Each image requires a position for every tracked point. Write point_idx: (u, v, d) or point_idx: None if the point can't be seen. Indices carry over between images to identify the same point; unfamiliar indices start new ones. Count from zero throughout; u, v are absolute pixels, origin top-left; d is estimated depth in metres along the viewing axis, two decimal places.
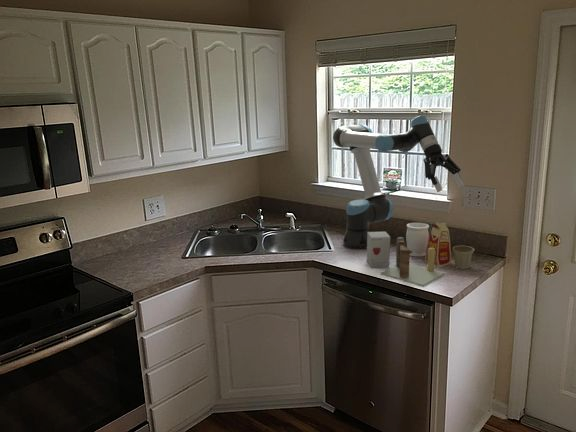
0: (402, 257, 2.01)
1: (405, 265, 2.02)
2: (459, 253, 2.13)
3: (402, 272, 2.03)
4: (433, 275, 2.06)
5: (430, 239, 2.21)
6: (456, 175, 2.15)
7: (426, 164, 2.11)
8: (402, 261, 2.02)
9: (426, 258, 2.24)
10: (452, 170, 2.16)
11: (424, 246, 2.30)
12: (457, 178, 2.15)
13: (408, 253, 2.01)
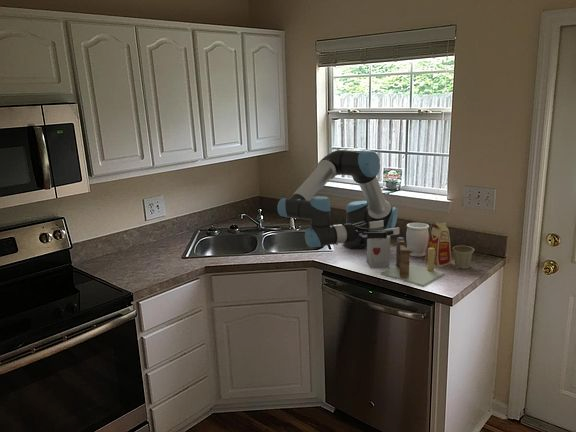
0: (402, 257, 2.01)
1: (405, 265, 2.02)
2: (459, 253, 2.13)
3: (402, 272, 2.03)
4: (433, 275, 2.06)
5: (430, 239, 2.21)
6: None
7: None
8: (402, 261, 2.02)
9: (426, 258, 2.24)
10: None
11: (424, 246, 2.30)
12: None
13: (408, 253, 2.01)
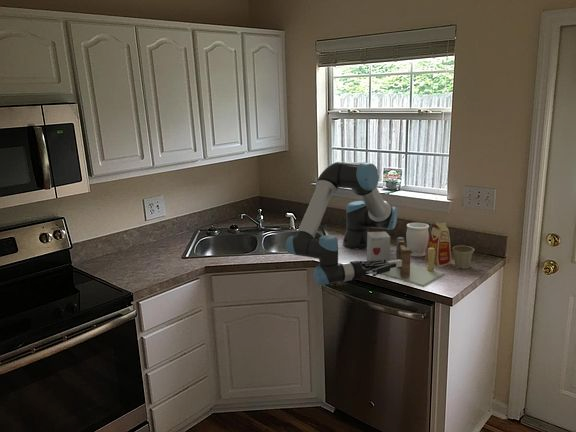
0: (403, 257, 2.01)
1: (406, 265, 2.02)
2: (459, 253, 2.13)
3: (403, 272, 2.03)
4: (433, 275, 2.06)
5: (430, 239, 2.21)
6: None
7: None
8: (403, 261, 2.02)
9: (426, 258, 2.24)
10: None
11: (424, 246, 2.30)
12: None
13: (409, 253, 2.01)
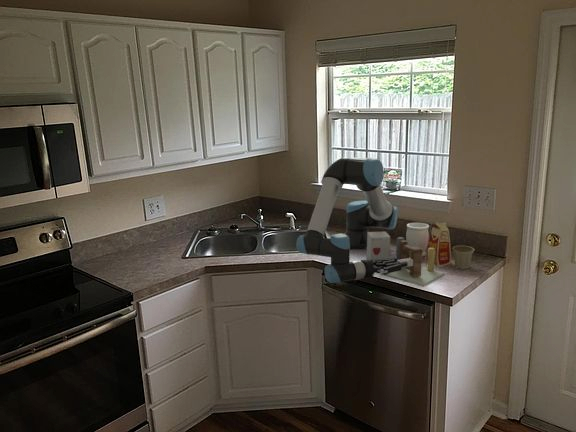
0: (415, 257, 2.02)
1: (418, 265, 2.03)
2: (459, 253, 2.13)
3: (415, 272, 2.03)
4: (433, 275, 2.06)
5: (430, 239, 2.21)
6: None
7: None
8: (415, 261, 2.02)
9: (426, 258, 2.24)
10: None
11: (424, 246, 2.30)
12: None
13: (420, 252, 2.02)
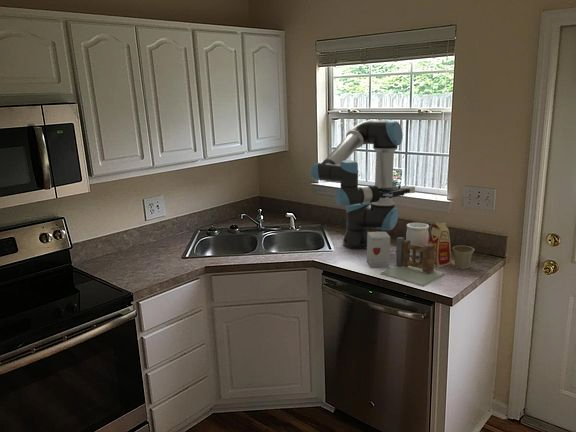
0: (431, 253, 2.05)
1: (432, 260, 2.07)
2: (459, 253, 2.13)
3: (430, 268, 2.07)
4: (433, 275, 2.06)
5: (430, 239, 2.21)
6: None
7: None
8: (431, 257, 2.06)
9: None
10: None
11: None
12: None
13: (434, 248, 2.07)
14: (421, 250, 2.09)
